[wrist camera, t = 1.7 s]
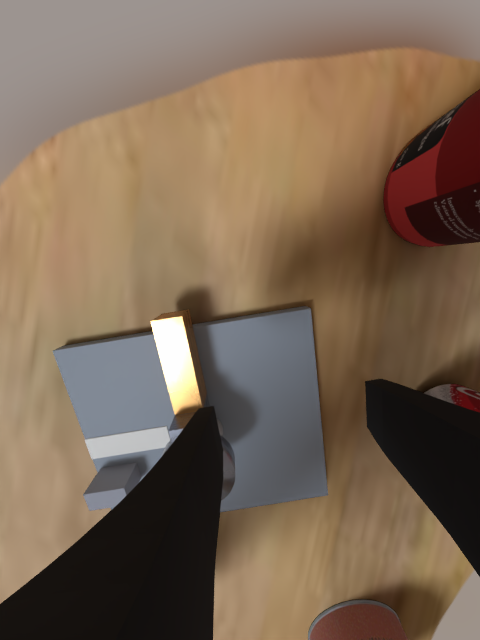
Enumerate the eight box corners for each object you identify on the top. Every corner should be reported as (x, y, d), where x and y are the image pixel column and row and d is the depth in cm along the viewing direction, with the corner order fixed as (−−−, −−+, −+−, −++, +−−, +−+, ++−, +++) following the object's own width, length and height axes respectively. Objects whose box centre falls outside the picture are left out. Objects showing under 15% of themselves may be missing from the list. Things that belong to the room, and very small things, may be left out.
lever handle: (239, 454, 20) (241, 502, 16) (179, 464, 20) (166, 513, 16) (210, 305, 17) (203, 318, 13) (140, 317, 17) (111, 333, 13)
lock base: (323, 483, 23) (341, 528, 19) (124, 515, 23) (101, 566, 19) (305, 305, 19) (325, 316, 15) (63, 345, 19) (19, 366, 15)
